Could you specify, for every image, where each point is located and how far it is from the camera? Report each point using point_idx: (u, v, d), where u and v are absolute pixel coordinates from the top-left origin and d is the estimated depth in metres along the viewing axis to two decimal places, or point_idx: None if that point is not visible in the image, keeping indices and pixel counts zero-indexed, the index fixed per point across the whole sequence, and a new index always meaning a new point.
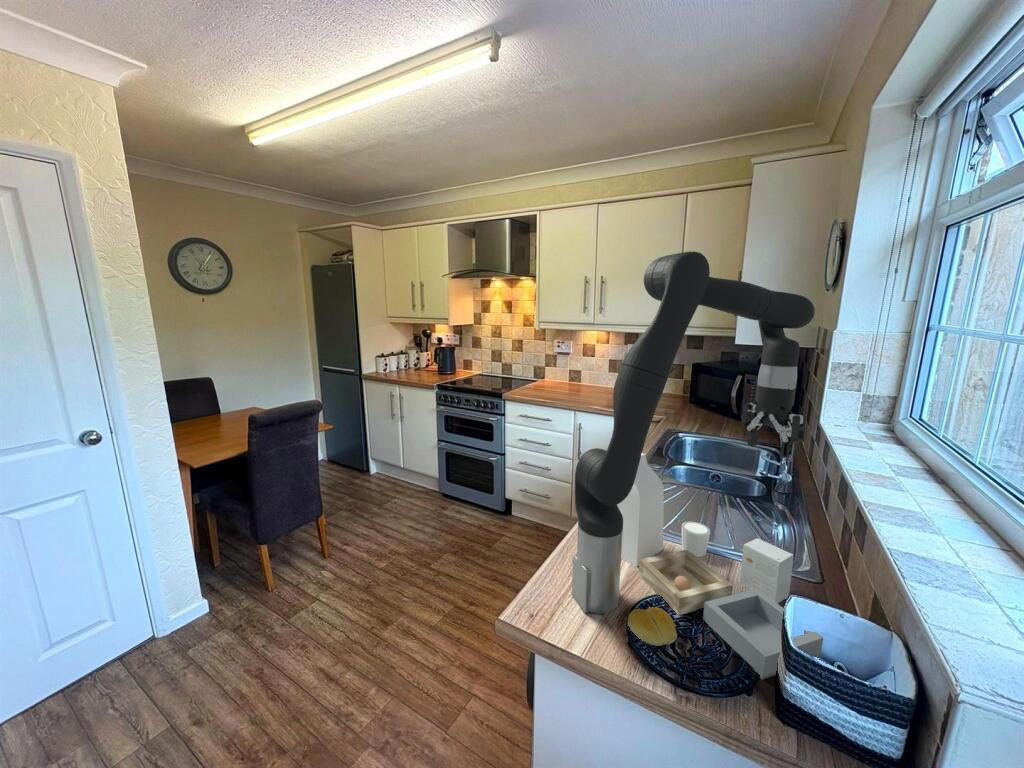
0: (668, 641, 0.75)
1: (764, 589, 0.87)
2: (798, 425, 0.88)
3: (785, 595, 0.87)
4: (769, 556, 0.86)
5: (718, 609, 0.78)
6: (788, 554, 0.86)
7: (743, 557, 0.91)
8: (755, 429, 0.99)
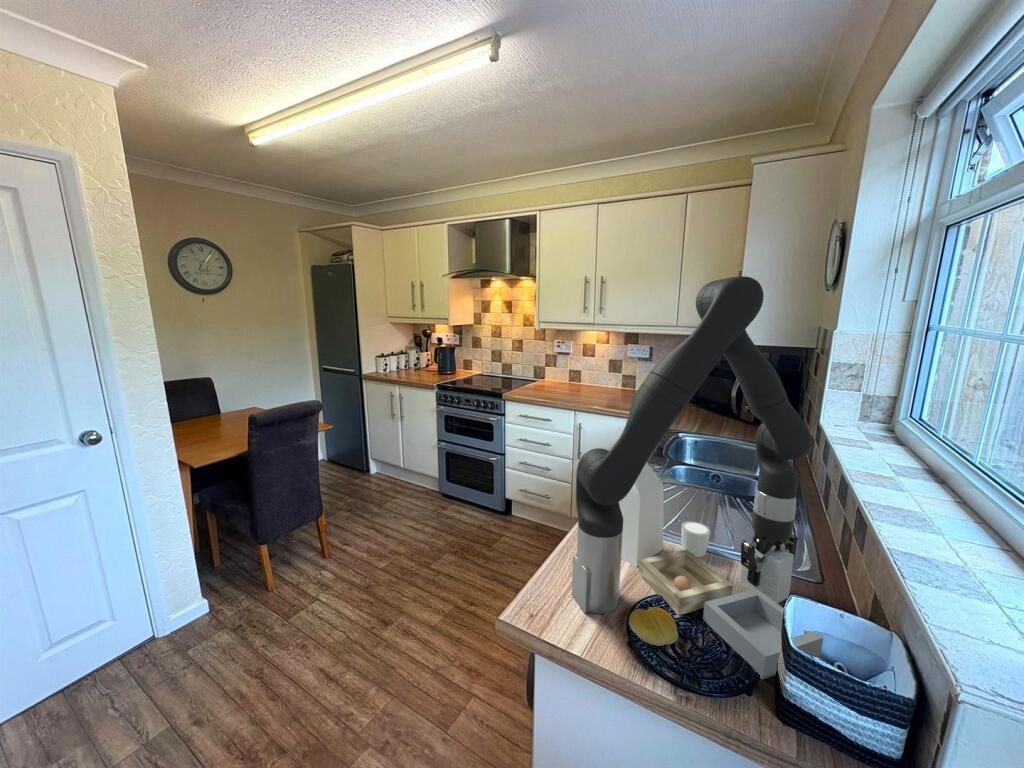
0: (669, 641, 0.75)
1: (764, 589, 0.87)
2: None
3: (785, 595, 0.87)
4: (769, 556, 0.86)
5: (718, 609, 0.78)
6: (788, 554, 0.86)
7: None
8: None
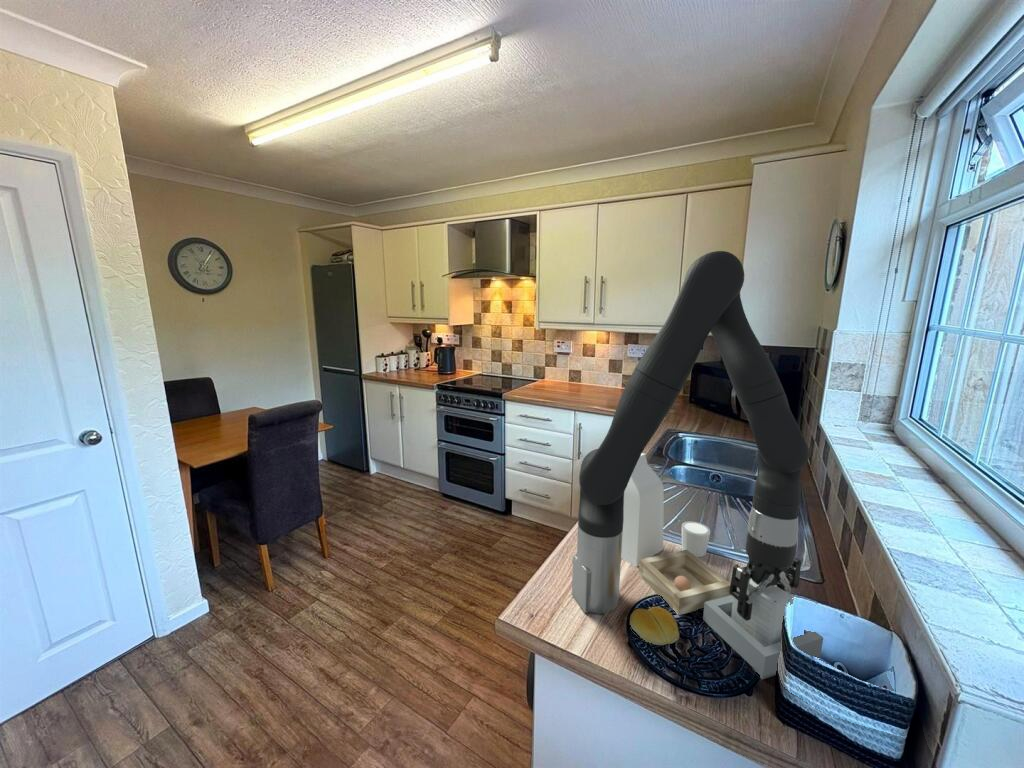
0: (671, 641, 0.75)
1: (758, 635, 0.74)
2: None
3: None
4: (764, 597, 0.72)
5: (718, 609, 0.78)
6: (787, 595, 0.73)
7: None
8: None
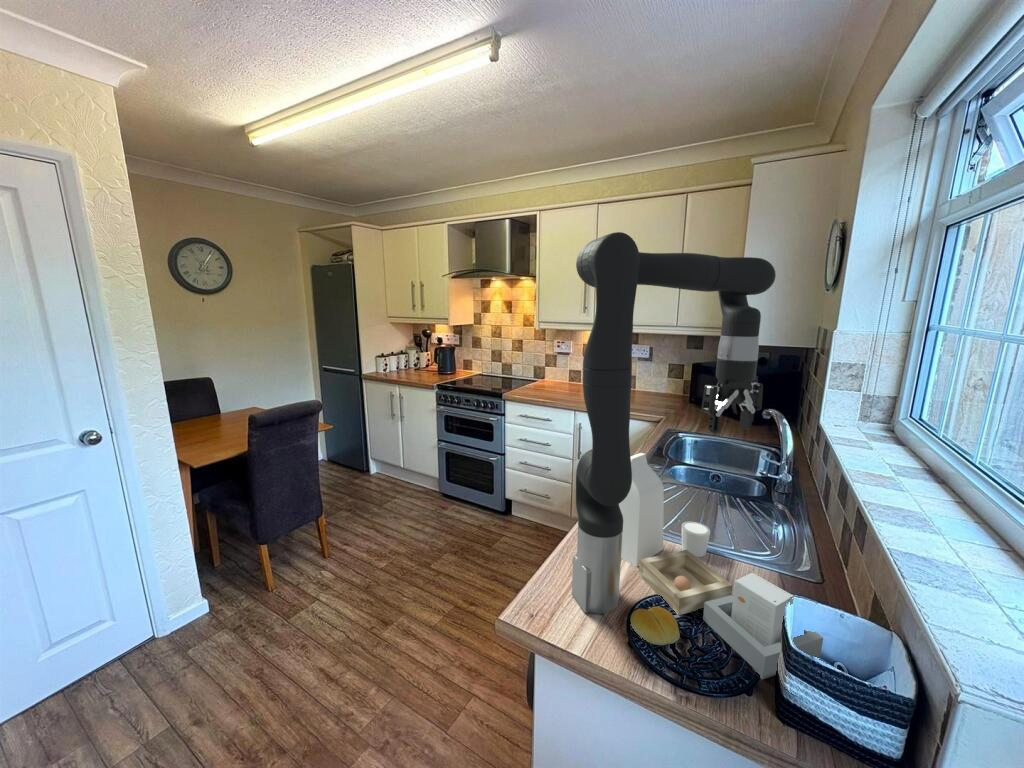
0: (671, 641, 0.75)
1: (758, 635, 0.74)
2: None
3: None
4: (764, 597, 0.72)
5: (718, 609, 0.78)
6: (787, 595, 0.73)
7: (734, 595, 0.77)
8: None
